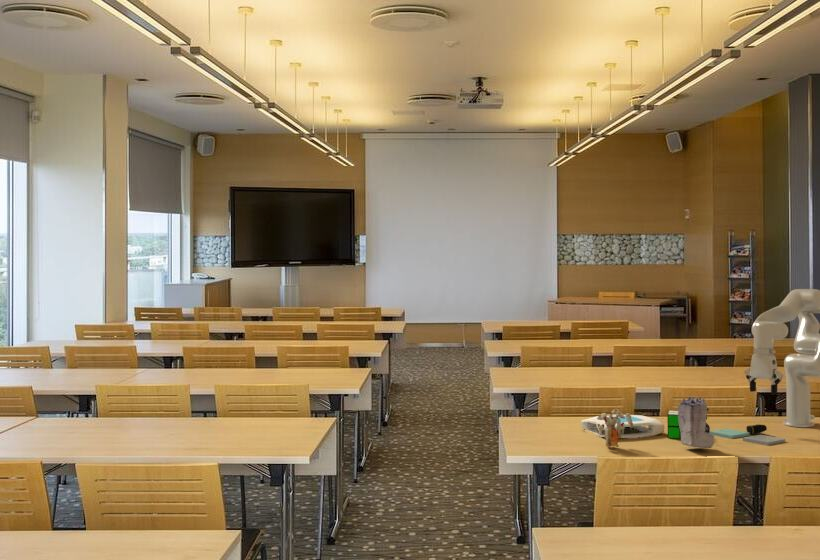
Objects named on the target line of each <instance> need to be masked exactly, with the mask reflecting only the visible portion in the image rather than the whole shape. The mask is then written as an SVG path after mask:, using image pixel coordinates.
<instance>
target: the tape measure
mask: <svg viewBox="0 0 820 560" xmlns="http://www.w3.org/2000/svg"><path fill="white" fill-rule="evenodd" d="M745 428H746V432H749V433H750V434H752V435H758V434H761V433H763V432H765V431H767V429H768V427H767V425H766V424H752V425H747V426H746V427H745Z"/></svg>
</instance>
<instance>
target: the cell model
mask: <svg viewBox="0 0 820 560" xmlns="http://www.w3.org/2000/svg"><path fill="white" fill-rule="evenodd" d="M705 399H706V398H705V397H701V396H699V397H696V398H695V397H693V396H691V397H690V396H689V397H688V398H687V399H685V397H682V401H681V402H680V403H679V402H678V405H677V408H678V410H677V411H678V422H679V428H680V432H681V438H680V442H681V443H680V444H682V445H684V446H687V447H692V448H700V449H701V448H702V449H711V448H712V447H713V446H714V442H715V435H712V434H709V432H710V431H711V430H710V429H711V427H710V425H709V424H708V423H707V419H708V417H707V413H708V412H709V407H708V405H707V403H706V402H705V401H706V400H705Z"/></svg>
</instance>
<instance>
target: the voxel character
mask: <svg viewBox="0 0 820 560" xmlns="http://www.w3.org/2000/svg"><path fill="white" fill-rule="evenodd" d="M614 414H615V415H616V417H613V415H614ZM607 415H609V417H610V418H608V417H607ZM624 415H626V420H627V422H628V424H630V426H633V423H632V419H631V415H632V414H631V413H625V414H623V413H622V412H621V411H620V410H619V409H618V408H616V409H613V410H611V411H610V412H609V413H606V412H602V413H601V414H600V415H597V416H598V418H597V419H598V420H605V424H606V429H604V424H602V425H600V424H598V425H597V427H598V429H599V430H598V434H599V435H605V437H606V438H605V447H607V448H611V447H614V448H619V444H618V441H619V439H618V438H621V434H625V433H624V432H625V429H626V428H625V424H624V422H623V423H621V420H620V418H622V419H625V416H624ZM618 417H620V418H618ZM616 423H617V429H616V428H615V425H616ZM603 429H604V430H603Z"/></svg>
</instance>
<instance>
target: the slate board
mask: <svg viewBox="0 0 820 560" xmlns="http://www.w3.org/2000/svg"><path fill="white" fill-rule="evenodd" d="M742 442H747V443H752V444H759V445H765V446H773V445H777V444H782V443H786V438H783V437H782V438H781V437H776V436H771V435H764V434H755V435H752V436H751V435H750V436H744V437H742Z"/></svg>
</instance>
